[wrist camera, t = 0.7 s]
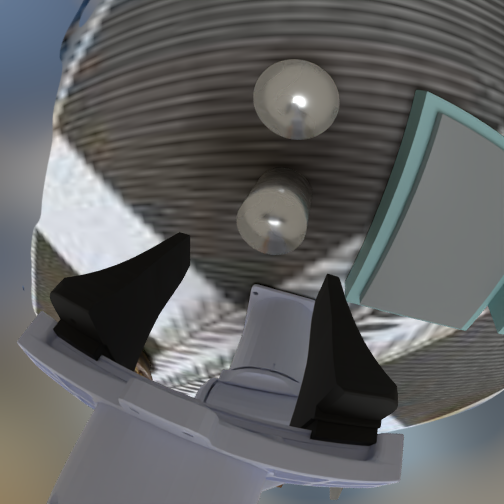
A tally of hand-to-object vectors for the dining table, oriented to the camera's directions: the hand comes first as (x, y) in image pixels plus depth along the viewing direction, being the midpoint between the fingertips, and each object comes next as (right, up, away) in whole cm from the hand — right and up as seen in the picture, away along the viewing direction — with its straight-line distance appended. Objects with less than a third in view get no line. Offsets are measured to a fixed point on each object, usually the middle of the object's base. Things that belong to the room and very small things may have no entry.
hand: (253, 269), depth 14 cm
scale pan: (+16, +2, +2) cm, 16 cm away
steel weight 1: (+3, +12, +2) cm, 12 cm away
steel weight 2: (+2, +5, +7) cm, 9 cm away
